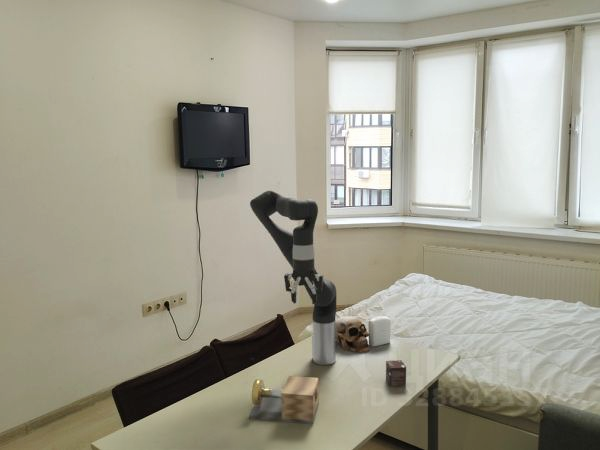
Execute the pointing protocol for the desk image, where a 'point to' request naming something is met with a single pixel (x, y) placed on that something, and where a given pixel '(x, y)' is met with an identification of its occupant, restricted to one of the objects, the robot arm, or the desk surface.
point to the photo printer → (379, 331)
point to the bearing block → (291, 402)
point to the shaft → (263, 392)
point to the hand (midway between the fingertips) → (304, 303)
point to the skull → (352, 334)
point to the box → (396, 373)
